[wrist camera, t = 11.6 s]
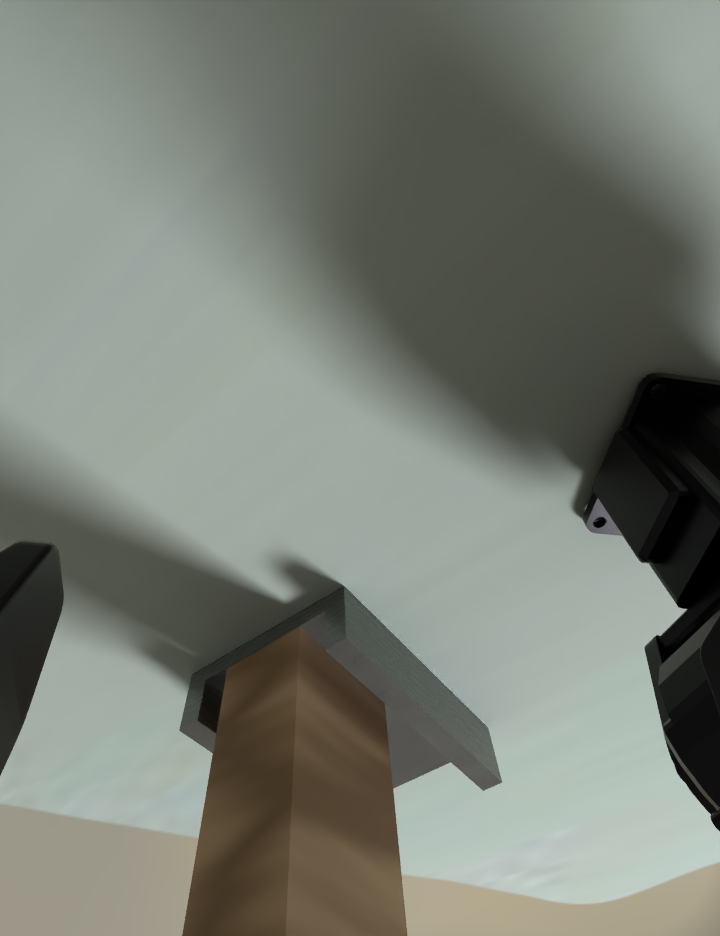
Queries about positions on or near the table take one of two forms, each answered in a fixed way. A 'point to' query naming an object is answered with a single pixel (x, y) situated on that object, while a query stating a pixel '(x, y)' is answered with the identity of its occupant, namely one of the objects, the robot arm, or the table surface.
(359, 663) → the track
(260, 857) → the wooden block
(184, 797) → the table surface
